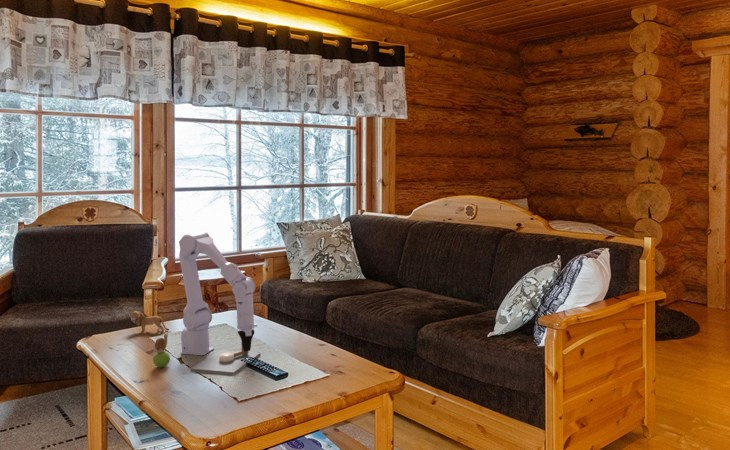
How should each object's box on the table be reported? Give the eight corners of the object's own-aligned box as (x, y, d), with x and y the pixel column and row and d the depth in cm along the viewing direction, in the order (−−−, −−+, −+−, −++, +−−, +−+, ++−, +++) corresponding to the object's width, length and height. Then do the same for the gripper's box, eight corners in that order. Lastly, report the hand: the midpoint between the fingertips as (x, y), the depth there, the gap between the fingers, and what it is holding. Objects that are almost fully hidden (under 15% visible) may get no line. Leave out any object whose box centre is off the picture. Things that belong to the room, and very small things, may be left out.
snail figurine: (175, 364, 214) (173, 330, 213) (163, 370, 208) (161, 335, 207) (162, 362, 216) (160, 329, 215) (150, 368, 210) (148, 334, 209)
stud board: (190, 371, 207) (190, 368, 207) (220, 352, 226) (220, 349, 226) (238, 375, 202) (238, 372, 202) (264, 355, 221) (264, 352, 221)
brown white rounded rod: (224, 363, 211) (224, 351, 210) (216, 360, 214) (215, 348, 213) (252, 354, 219) (251, 342, 219) (243, 351, 223) (243, 340, 222)
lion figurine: (130, 334, 250) (129, 313, 249) (133, 331, 256) (132, 309, 255) (167, 332, 252) (166, 311, 251) (170, 329, 257) (169, 308, 256)
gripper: (259, 316, 211) (261, 355, 213) (253, 307, 225) (255, 343, 227) (239, 318, 209) (240, 357, 211) (234, 308, 223) (235, 345, 224)
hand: (246, 350), depth 218 cm, fingers closed, pressing on brown white rounded rod
